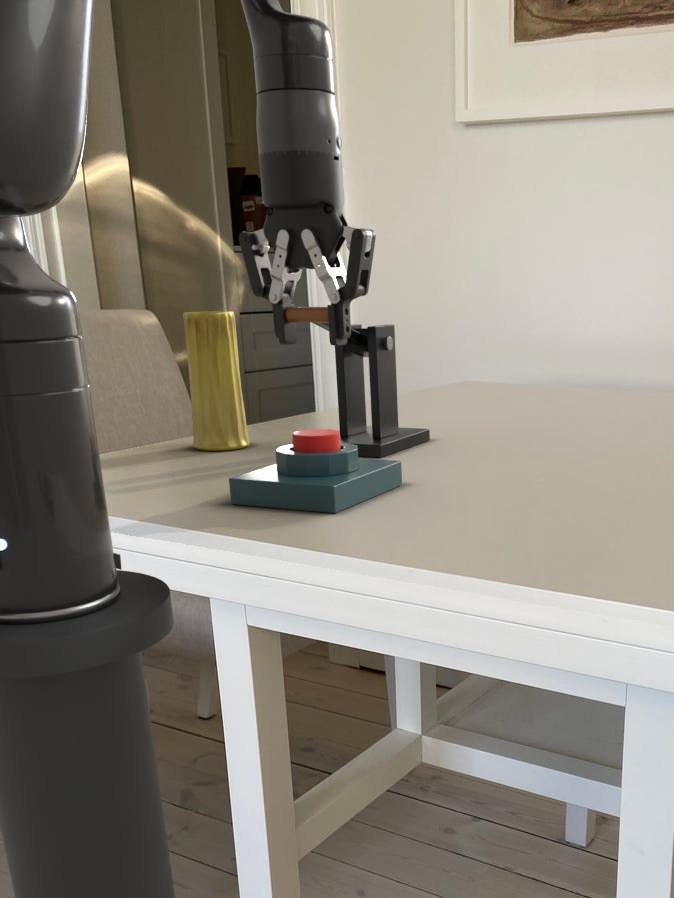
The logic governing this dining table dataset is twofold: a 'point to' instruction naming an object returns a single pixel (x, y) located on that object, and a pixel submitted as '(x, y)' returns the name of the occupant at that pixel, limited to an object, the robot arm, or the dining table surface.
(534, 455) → the dining table surface
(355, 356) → the bracket
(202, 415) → the vase
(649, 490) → the dining table surface
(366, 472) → the control block
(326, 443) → the button
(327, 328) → the lever
